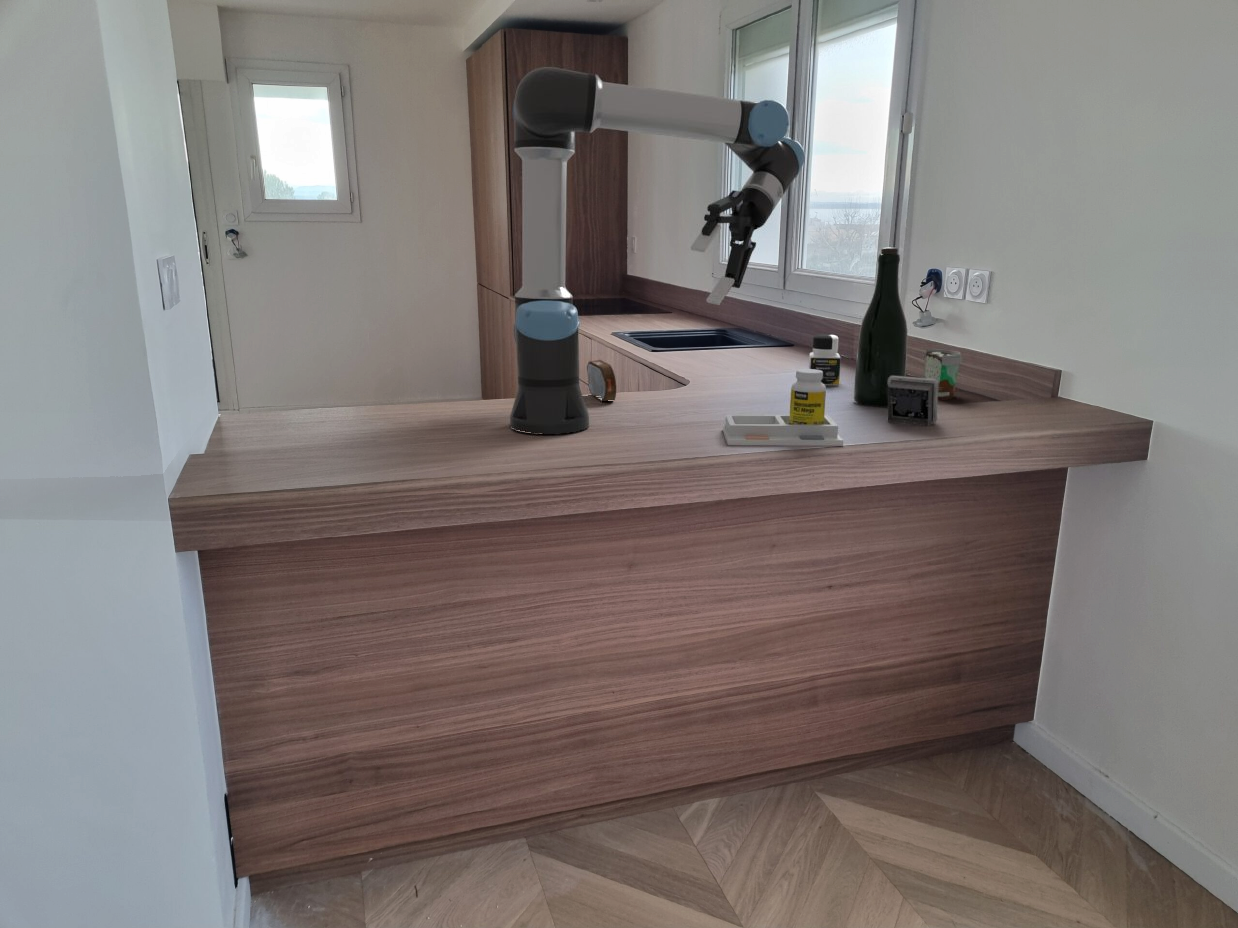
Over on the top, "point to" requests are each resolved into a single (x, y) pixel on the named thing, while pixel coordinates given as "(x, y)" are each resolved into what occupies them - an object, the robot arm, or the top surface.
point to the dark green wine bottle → (881, 336)
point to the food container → (942, 370)
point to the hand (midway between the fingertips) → (705, 277)
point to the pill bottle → (807, 398)
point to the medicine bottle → (826, 358)
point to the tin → (601, 380)
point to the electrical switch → (912, 400)
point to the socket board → (779, 431)
